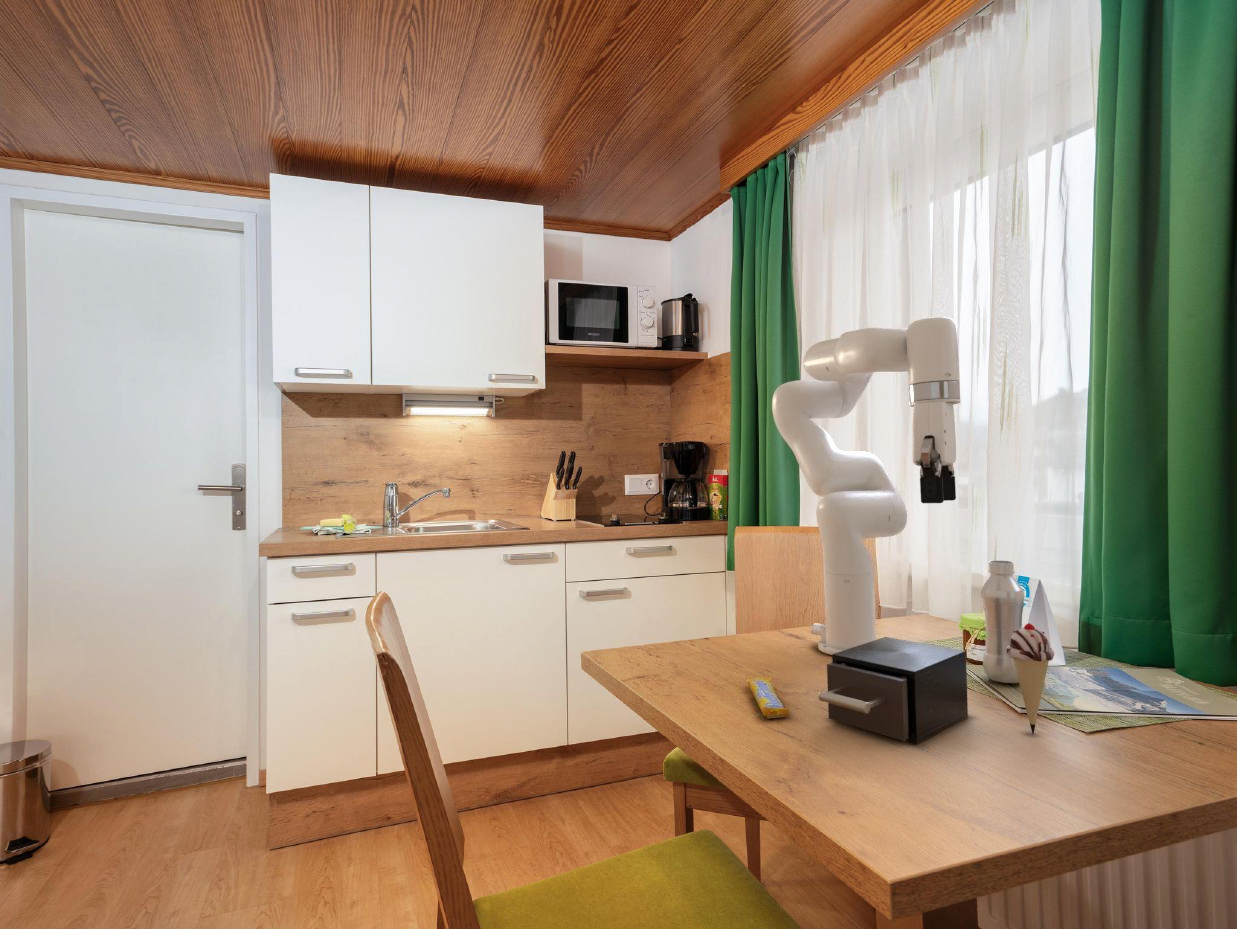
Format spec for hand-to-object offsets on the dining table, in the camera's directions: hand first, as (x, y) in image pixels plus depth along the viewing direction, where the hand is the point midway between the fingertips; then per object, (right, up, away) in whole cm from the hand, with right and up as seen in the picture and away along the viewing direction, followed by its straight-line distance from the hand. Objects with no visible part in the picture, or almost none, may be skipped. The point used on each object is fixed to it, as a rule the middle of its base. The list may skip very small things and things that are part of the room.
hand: (939, 501), depth 113 cm
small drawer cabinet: (-11, -31, -11) cm, 35 cm away
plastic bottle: (+13, -31, +4) cm, 33 cm away
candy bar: (-28, -32, -2) cm, 42 cm away
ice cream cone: (+4, -31, -18) cm, 36 cm away
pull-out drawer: (-15, -30, -14) cm, 37 cm away
